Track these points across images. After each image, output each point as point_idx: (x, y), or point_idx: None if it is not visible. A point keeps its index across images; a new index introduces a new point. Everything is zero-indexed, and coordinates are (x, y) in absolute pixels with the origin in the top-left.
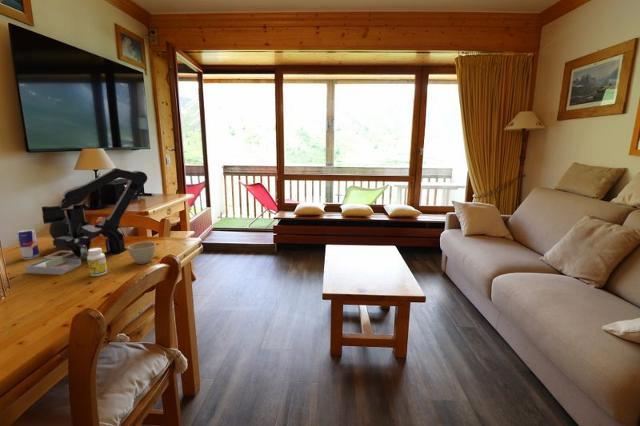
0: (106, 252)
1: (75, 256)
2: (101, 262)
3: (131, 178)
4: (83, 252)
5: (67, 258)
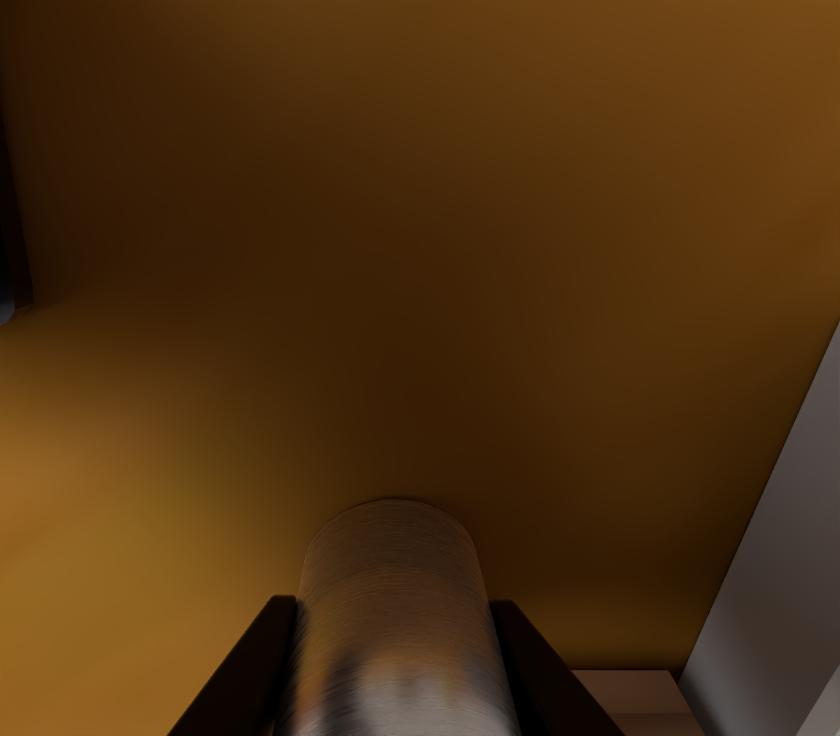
0: (4, 248)
1: None
2: None
3: None
4: (470, 641)
5: None
